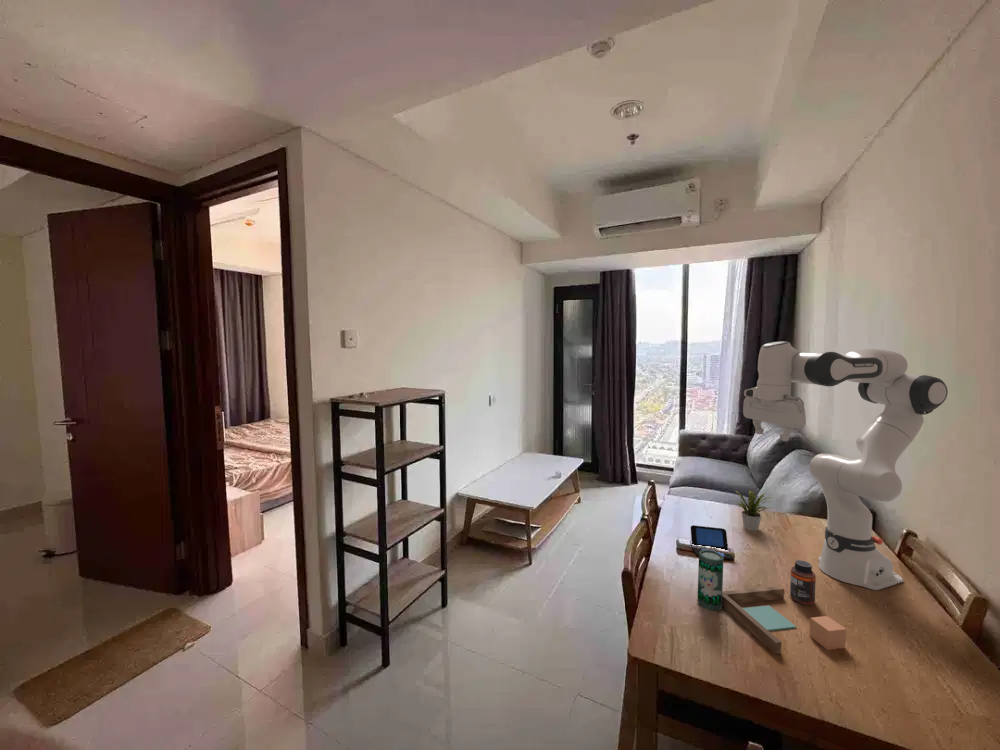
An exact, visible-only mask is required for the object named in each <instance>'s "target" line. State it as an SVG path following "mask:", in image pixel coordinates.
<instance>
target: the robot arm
mask: <svg viewBox="0 0 1000 750" xmlns="http://www.w3.org/2000/svg"><path fill="white" fill-rule="evenodd" d="M758 353H759V354H758V359H757V372H758V379H757V381H756V386H755V387H750V388H748V389H745V390H744V391H743V395H744V397H745V398H744V400H743V407H742V413H743V416H744V417H745V418H746V419H750V420H752V424H753V426H754V429H755V430H754V431H755V434H757V435H764V433H765V432H764V430H765V428H762V425H761V424H762V422H763V423H764V422H765V423H768V424H773V425H777V426H778V425H779V426H782V429H783V430H784V431H783V433H781V434H779V440H780V441H783V442H788V441H789V440H790V435H791V434H792V433H793V432H794V429H803V428H804V427H806V423H807V421H806V419H807V416H806V408H805V403H804V401H803V399H801V397H799V396H792V383H798V384H808V385H817V386H823V387H834V386H837V385H840V384H842V383H843V382H845V381H849V382H852V383H858V386H857V390H858V393H859V394H858V395H860V397H861V399H862V400H864V401H865V402H869V403H872V404H880V405H884V409H883V411H882V412H881V413H880V414H879V415H877V416H876V417H875V418H874V419H873V420H872V421H871V422H870V423H869V425H868V426H866V428H865V429H864V430H863V431H862V432H861V434H859V436H858V437H857V438H856V440H855V443H856V448H857V449H858V451H859V453H861V455H860V457H858V458H857V459H856V458H851V457H847V456H844V455H840V454H835V453H834V454H832V453H818V454H816V455H815V456H813V458H811V460H810V463H809V472H810V474H811V476H812V477H813V478H814V479H815V480H816V482H817V483H818V484H819V486H820V488H821V490H822V493H823V495H824V497H825V498H824V499H825V502H826V505H827V520H826V521H827V522H826V523H827V524H826V527H825V530H824V540H823V543H822V547H821V549H822V550H821V554H820V556H818V559H817V560H818V562H819V563H818V567H819V569H820V571H822V572H823V573H824V574H826V575H827V576H829V577H831V578H834V579H836V580H838V581H841V582H843V583H848V584H851V585H854V586H860V587H864V588H866V589H870V590H871V591H878V590H879V591H880V590H883V589H885V588H888V587H892V586H895V585H898V584H901V583H903V582H904V579H903V577H901V575H899V574H898V573H896V572H895V571H894V565H893V562H892V559H890V558H889V557H888V556H887V555H885V554H884V553H882V552H881V551H880V550H879V549H877V548H876V544H877V545H882V544H883V542H884V541H883V539H882V538H879V537H877V536H875V535H874V536H872V531H873V514H872V513H871V511H870V510H869V508H868V507H867V506H866V505H865V504H864V503H863V502H862V501H861V499H860V497H861V498H865V499H868V500H874V501H880V502H886V503H887V502H892V501H894V500H895V499H897V498H898V497H899V496H900V495H901V493H902V489H903V483H902V480H901V478H900V476H899V475H898V473H897V472H896V464H897V461H898V459H899V458H900V457H901V455H902V454H903V453H904V452H905V450H906V449H907V448H908V447H909V445H911V443H912V442H913V441H914V440H915V438H916V437H917V435H918V434H919V432H920V430H921V428H922V426H923V424H924V422H925V421H924V415H928V414H930V413H932V412H933V411H934V410H936V409H938V408H939V407H940V406H941V405H942V404H943V403H944V402H945V401H946V400H947V396H948V392H949V390H948V387H947V384H946V383H945V382H944V381H943V380H942V379H941V378H938V377H937V376H931V375H927V374H926V375H925V374H922V375H920V374H914V373H906V372H907V370H908V361H907V359H906V358H905V357H904V356H903V355H902V354H901V353H899V352H896V351H892V350H885V349H877V348H876V349H874V348H873V349H872V348H870V349H869V348H868V349H867V348H865V349H856V350H852V351H848V352H846V353H845V354H844V355H843V354H840V353H838V352H836V351H823V352H809V351H807V352H806V351H805V352H804V351H801V350H798V349H797V348H795V347H794V346H792V344H791V342H789V341H783V340H782V341H772V342H768V343H765V344H763V345H762V346H761V347H760V349H759V352H758ZM900 582H901V583H900ZM897 583H898V584H897Z"/></svg>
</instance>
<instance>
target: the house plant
mask: <svg viewBox="0 0 1000 750" xmlns="http://www.w3.org/2000/svg"><path fill="white" fill-rule="evenodd" d="M735 492H736V494H738V496H739V498H741V499H740V500H739V501H740V503H739V502H738V503H736V505H738V507H741V508H742V509H743V510H742V511H741V518H742V525H743V529H745V530H748V531H752V532H757V531H759V528H760V523H761V519H762V514H760V512H762V511H764V510H767V509H770V506H769V507H767V506H762V505H763V504H765V503H770V501H765V500H767V499H772V497H765V495H766V493H767V492H765V493H762V494H761V495H760V496H759V497H757V496H756V494H755V491H754V490H748V499H747V500H748V502H747V501H746V500H745V499H746V498H744V496H743V495H742V494H741V493H740V492H738V491H737V490H735ZM763 497H764V498H763ZM756 498H757V499H756ZM763 501H764V502H763ZM760 503H761V504H760Z"/></svg>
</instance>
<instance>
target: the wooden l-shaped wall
mask: <svg viewBox="0 0 1000 750" xmlns="http://www.w3.org/2000/svg"><path fill="white" fill-rule="evenodd" d="M784 596H785V588H783V587H782V586H781V585H778V586H776V585H775V586H768V587H767V586H766V587H765V586H764V587H756V588H746V589H745V588H744V589H735V590H724V591H723V590H722V607H723V608H724V609H725V610H726V611H727V612H728V613H730V614H731V615H732V616H733V617H734V618H735V619H737V620H738V622H739V623H740V624H742V625H743V626H744V627H745V628H746V629H747V630H748V631H749V632H750V633H751V634H752V635H753V636H755V638H757V639H758V640H759V641H760V642H762V644H764V645H765V646H766V647H767V648H768V649H769V650H770V651H771V652H772V653H773V654H775V655H781V654H782V641H781V640H780V639H778V638H777V637H776V636H775V635H774V634H772V633H771V631H768V630H767V629H766V628H765V627H763V626H762V625H761V624H760V623H759V622H758V621H756V620H755V619H754V618H753V617H752V616H751V615H749V614H748V613H747V612H746V611H745V610H744V609H743V608H744V607H742V606H740V605H739V604H741V603H744V604H745V603H750V602H751V603H753V602H763V601H772V600H774V601H775V600H782V599H783V600H784V598H785V597H784Z"/></svg>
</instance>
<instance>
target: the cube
mask: <svg viewBox="0 0 1000 750" xmlns="http://www.w3.org/2000/svg"><path fill="white" fill-rule="evenodd" d="M809 621H810V622H809V623H810V624H809V637H811V638H812V640H813V639H814V641H816V642H817V643H818V644H820V645H821V646H822V647H823V646H824V647H823V648H825V650H827V651H830V650H837V649H836V648H839V649H844V648H843V647H845V648H846V640H847V639H846V637H847V628H846V627H844V626H842V625H841V624H840V623H838V622H837V621H835V620H834V619H832V618H831V617H829V616H828V615H822V616H815V617H810V619H809Z"/></svg>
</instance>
